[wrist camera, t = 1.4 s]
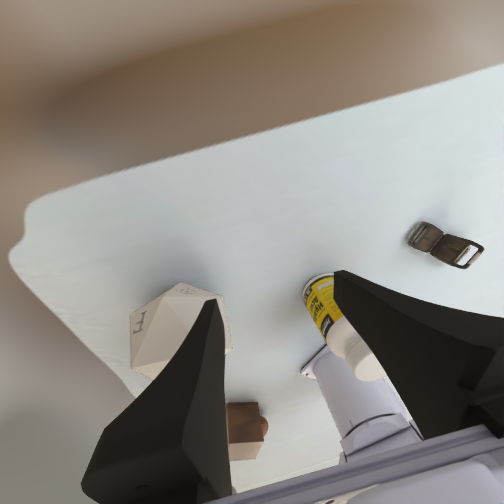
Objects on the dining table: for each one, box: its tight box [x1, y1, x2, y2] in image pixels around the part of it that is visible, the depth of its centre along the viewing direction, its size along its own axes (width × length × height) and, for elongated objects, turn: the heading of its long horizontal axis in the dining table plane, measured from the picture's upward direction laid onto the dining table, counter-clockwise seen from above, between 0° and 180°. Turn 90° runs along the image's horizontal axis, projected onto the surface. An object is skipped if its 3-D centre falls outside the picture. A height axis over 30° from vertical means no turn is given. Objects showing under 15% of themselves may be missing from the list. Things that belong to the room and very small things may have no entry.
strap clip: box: [407, 222, 484, 269], centre depth 22 cm, size 8×3×4 cm, turn 66°
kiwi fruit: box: [260, 416, 268, 437], centre depth 33 cm, size 6×5×3 cm
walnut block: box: [226, 403, 264, 461], centre depth 31 cm, size 5×5×5 cm
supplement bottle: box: [303, 273, 387, 382], centre depth 20 cm, size 5×5×10 cm
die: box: [130, 282, 233, 380], centre depth 19 cm, size 8×9×10 cm
